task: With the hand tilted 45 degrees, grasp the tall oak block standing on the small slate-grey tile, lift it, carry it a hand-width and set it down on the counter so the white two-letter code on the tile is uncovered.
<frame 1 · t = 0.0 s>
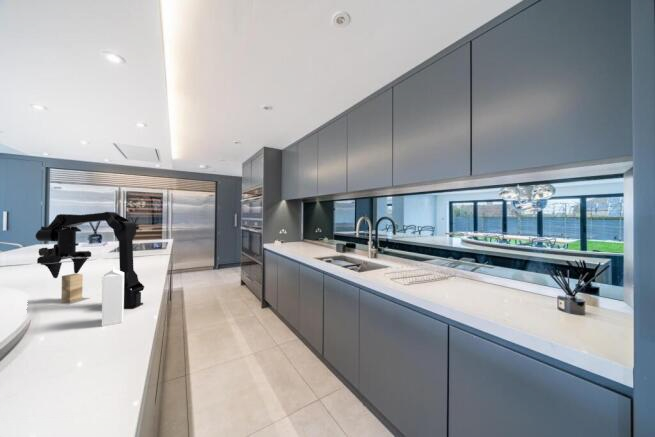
hand: (66, 275, 108), 15 cm above the worktop, tool pointing down, fingers open, 9 cm apart
oak block: (72, 300, 116), point 1 cm above the worktop, touching code tile
code tile: (71, 301, 116), on the worktop
milk: (113, 322, 94), on the worktop
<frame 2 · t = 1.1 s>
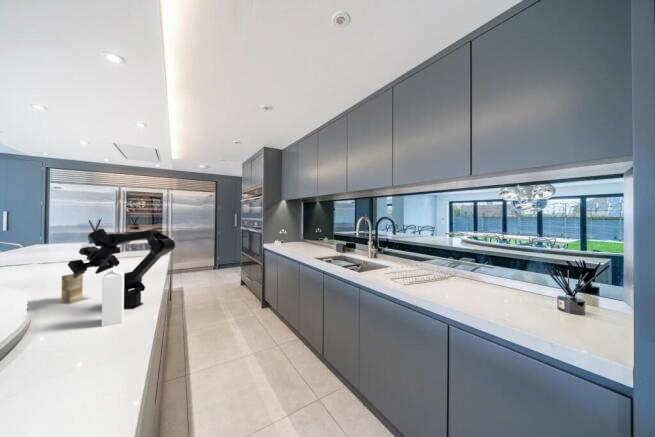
hand: (85, 275, 115), 13 cm above the worktop, tool tilted 45°, fingers open, 9 cm apart
nothing on the worktop moved.
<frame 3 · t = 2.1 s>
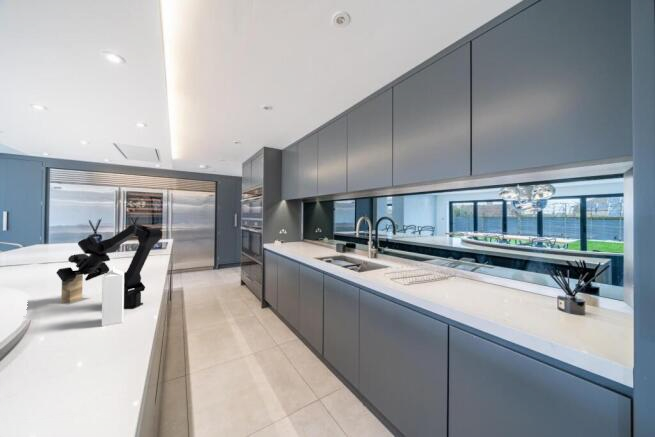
hand: (74, 282, 116), 10 cm above the worktop, tool tilted 45°, fingers open, 9 cm apart
nothing on the worktop moved.
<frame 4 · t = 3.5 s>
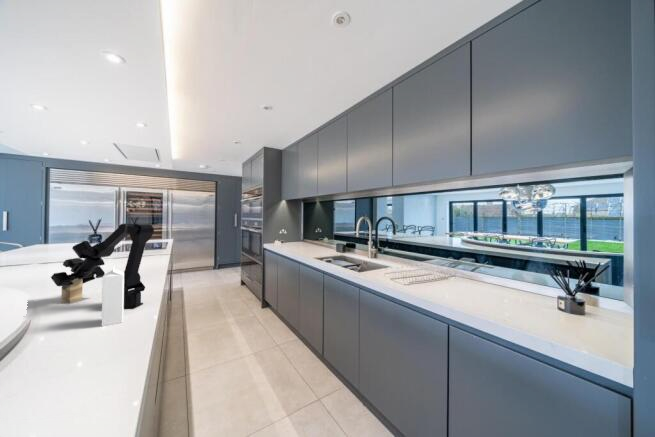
hand: (69, 286, 116), 7 cm above the worktop, tool tilted 45°, fingers closed on oak block, 5 cm apart
oak block: (72, 300, 116), point 1 cm above the worktop, touching code tile, gripper
everything else where it was.
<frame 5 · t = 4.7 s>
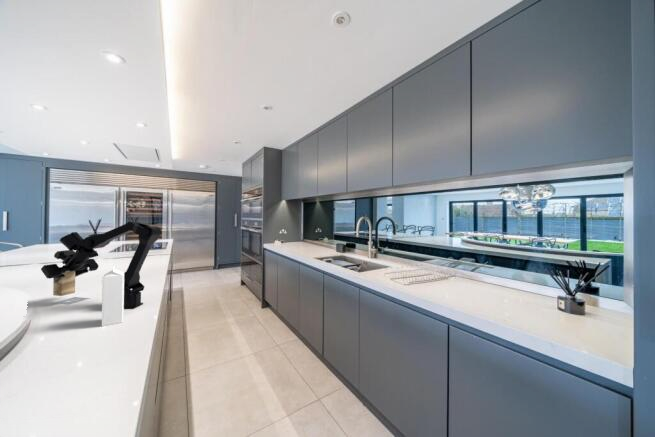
hand: (62, 279, 112), 12 cm above the worktop, tool tilted 45°, fingers closed on oak block, 5 cm apart
oak block: (64, 294, 112), point 5 cm above the worktop, touching gripper
everything else where it was.
when the fingers open (8 cm above the worktop, at t = 6.1 s): oak block drops 1 cm, on the worktop.
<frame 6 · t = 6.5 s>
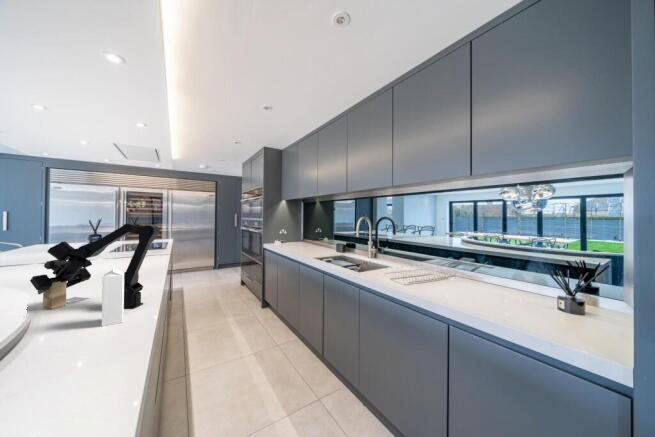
hand: (52, 290, 107), 8 cm above the worktop, tool tilted 45°, fingers open, 9 cm apart
oak block: (54, 308, 107), on the worktop
everything else where it was.
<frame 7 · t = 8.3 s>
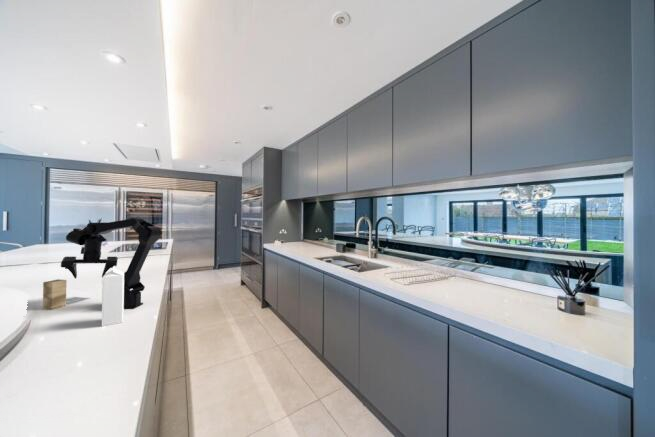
hand: (89, 277, 114), 12 cm above the worktop, tool tilted 20°, fingers open, 9 cm apart
nothing on the worktop moved.
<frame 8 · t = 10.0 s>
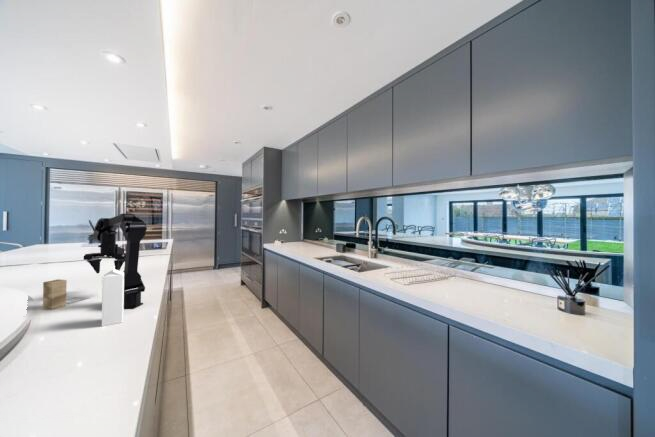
hand: (107, 273, 121), 13 cm above the worktop, tool pointing down, fingers open, 9 cm apart
nothing on the worktop moved.
at the end: oak block moved 9.1 cm from its start; oak block touching worktop; oak block tilted 0° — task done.
